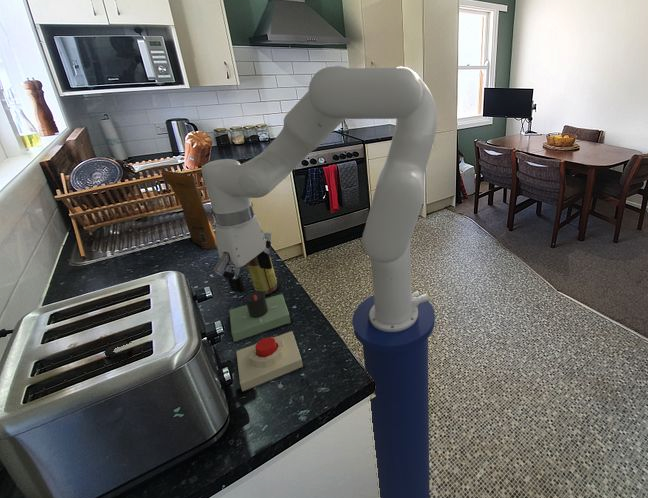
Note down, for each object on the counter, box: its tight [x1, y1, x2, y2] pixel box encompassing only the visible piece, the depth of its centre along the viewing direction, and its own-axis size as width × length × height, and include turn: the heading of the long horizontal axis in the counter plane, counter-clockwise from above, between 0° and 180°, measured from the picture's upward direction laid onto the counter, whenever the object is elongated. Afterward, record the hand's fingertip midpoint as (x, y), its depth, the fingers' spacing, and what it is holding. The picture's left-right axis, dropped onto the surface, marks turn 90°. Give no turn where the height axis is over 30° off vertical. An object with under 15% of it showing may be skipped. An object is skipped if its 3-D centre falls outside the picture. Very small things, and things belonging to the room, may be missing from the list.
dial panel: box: [228, 293, 291, 342], centre depth 89 cm, size 13×10×3 cm
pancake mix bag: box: [160, 169, 217, 250], centre depth 122 cm, size 7×19×28 cm, turn 55°
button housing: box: [235, 330, 304, 392], centre depth 76 cm, size 12×10×4 cm
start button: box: [255, 336, 277, 357], centre depth 75 cm, size 4×4×2 cm
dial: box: [244, 290, 268, 318], centre depth 87 cm, size 4×4×5 cm
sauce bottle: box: [246, 254, 278, 296], centre depth 97 cm, size 7×6×20 cm
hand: (253, 279), depth 84 cm, fingers open, 9 cm apart
